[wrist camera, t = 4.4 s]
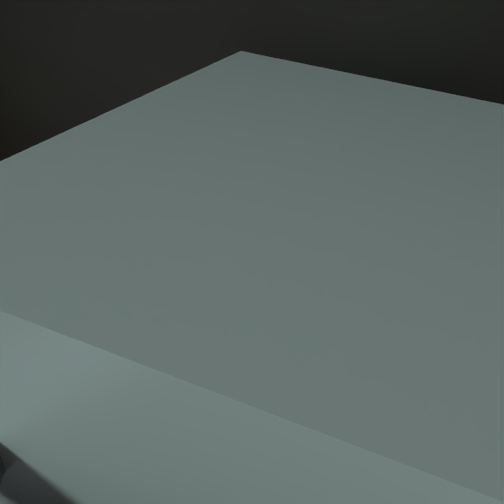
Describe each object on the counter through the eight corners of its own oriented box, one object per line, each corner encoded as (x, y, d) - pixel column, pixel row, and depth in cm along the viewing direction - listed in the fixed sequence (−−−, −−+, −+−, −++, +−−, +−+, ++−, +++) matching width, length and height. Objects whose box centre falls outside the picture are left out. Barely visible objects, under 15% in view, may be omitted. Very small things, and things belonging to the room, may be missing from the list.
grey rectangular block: (240, 50, 10) (-178, 242, 3) (565, 117, 9) (978, 682, 2) (218, 283, 14) (0, 594, 7) (442, 356, 13) (437, 830, 6)
